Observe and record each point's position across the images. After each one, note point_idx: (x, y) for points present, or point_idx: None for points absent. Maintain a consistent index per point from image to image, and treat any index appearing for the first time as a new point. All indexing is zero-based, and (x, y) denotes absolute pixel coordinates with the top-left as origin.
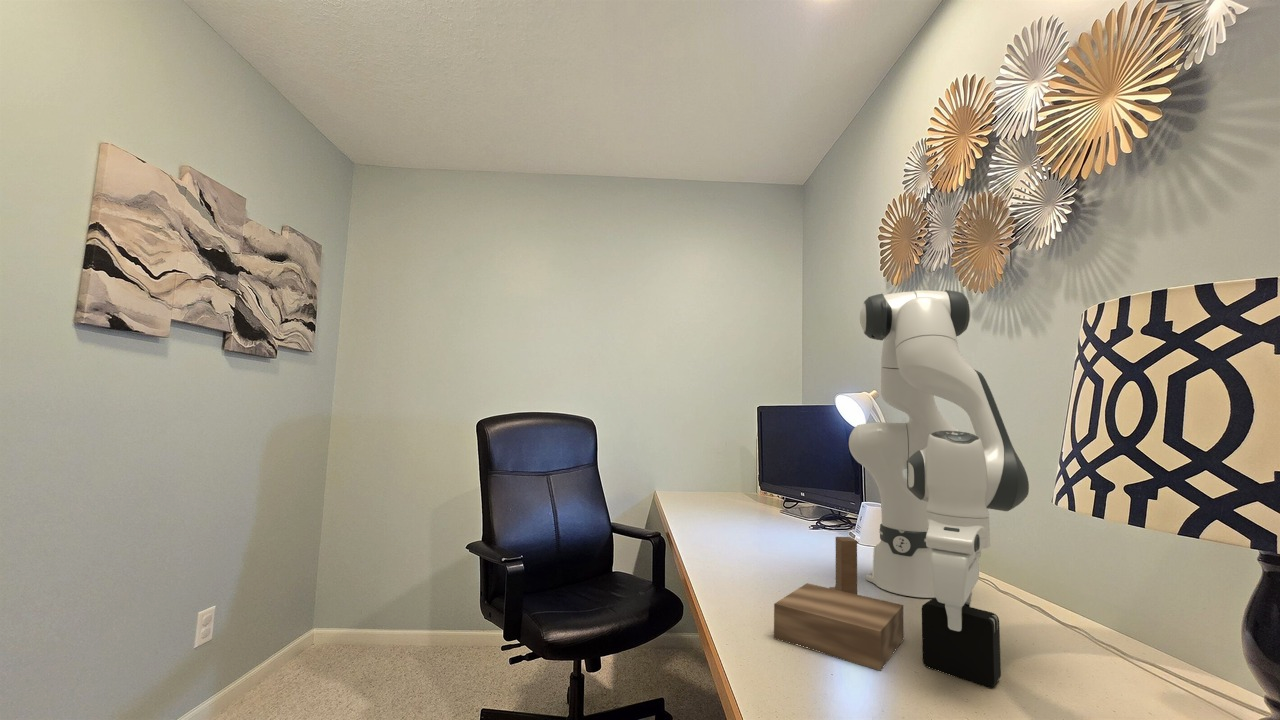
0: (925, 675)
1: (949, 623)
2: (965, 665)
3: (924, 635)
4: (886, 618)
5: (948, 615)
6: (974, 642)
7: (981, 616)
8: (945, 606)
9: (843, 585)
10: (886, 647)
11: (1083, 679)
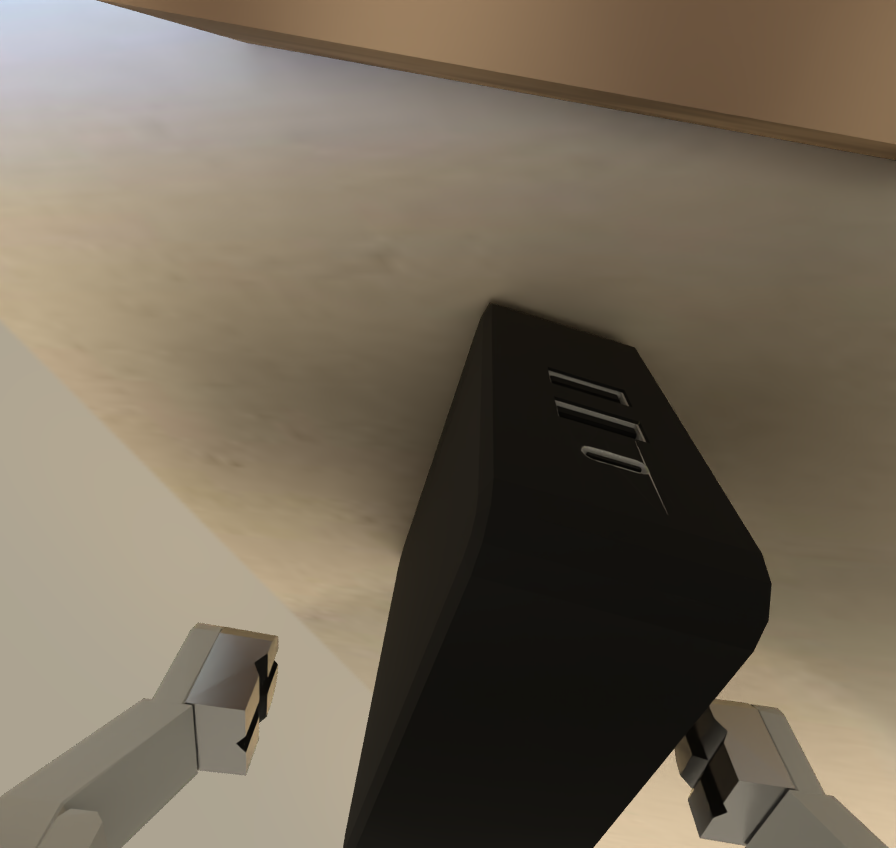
0: (367, 307)
1: (177, 658)
2: (420, 516)
3: (481, 377)
4: (569, 27)
5: (126, 719)
6: (388, 654)
7: None
8: (1, 802)
9: None
10: (393, 64)
11: (678, 787)
